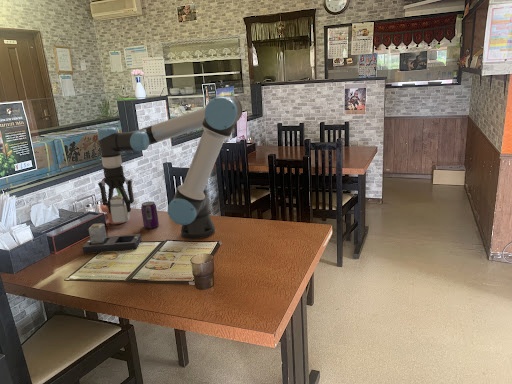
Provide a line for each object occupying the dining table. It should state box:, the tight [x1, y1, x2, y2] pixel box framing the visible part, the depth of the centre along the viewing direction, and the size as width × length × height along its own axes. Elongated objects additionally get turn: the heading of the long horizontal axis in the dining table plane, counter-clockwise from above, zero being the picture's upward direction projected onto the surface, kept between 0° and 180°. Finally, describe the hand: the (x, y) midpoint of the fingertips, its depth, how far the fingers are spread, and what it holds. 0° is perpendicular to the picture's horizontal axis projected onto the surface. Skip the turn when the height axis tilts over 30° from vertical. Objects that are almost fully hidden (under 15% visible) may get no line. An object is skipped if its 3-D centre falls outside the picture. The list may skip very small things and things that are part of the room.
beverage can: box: [140, 201, 160, 229], centre depth 189 cm, size 7×7×12 cm
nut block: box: [110, 194, 128, 223], centre depth 165 cm, size 5×5×11 cm
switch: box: [81, 222, 142, 255], centre depth 168 cm, size 22×10×11 cm, turn 93°
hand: (121, 219), depth 166 cm, fingers closed on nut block, 5 cm apart
